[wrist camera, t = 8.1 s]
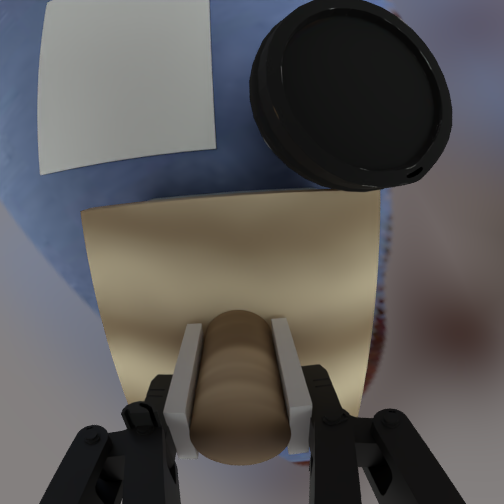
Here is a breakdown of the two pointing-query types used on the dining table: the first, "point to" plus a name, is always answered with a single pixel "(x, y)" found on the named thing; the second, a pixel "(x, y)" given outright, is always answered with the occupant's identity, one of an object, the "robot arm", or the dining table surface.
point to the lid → (238, 301)
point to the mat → (123, 81)
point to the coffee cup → (350, 97)
